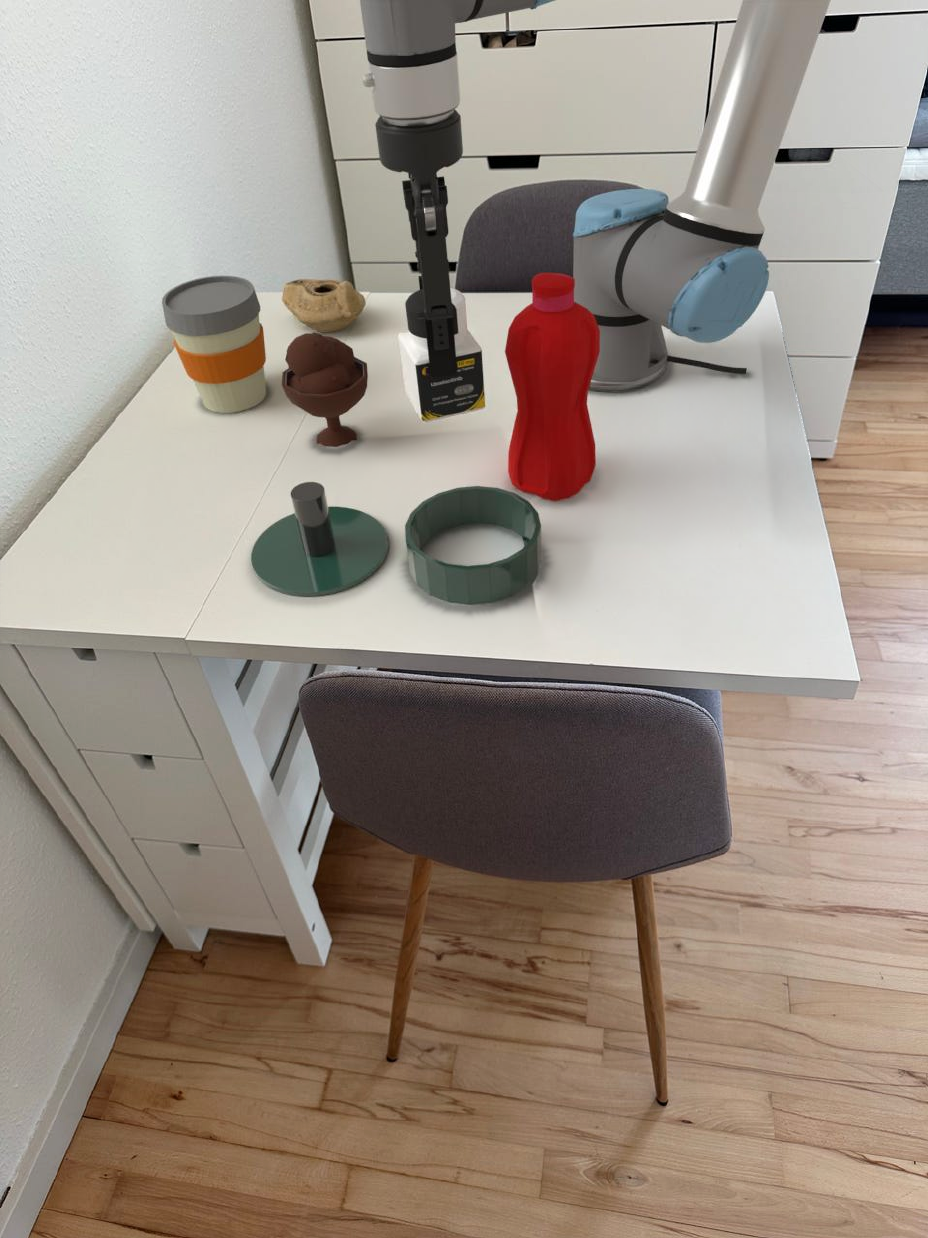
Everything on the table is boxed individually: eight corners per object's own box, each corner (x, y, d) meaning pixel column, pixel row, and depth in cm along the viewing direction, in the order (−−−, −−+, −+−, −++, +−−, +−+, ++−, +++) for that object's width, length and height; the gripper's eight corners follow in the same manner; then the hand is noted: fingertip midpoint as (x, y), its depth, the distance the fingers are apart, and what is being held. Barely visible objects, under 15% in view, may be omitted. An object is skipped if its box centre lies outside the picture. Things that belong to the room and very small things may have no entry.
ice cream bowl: (366, 464, 114) (348, 354, 104) (283, 459, 116) (257, 350, 106) (387, 420, 121) (373, 313, 111) (309, 416, 123) (288, 311, 113)
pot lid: (388, 509, 107) (378, 445, 101) (389, 593, 96) (379, 528, 90) (259, 520, 107) (243, 458, 101) (246, 607, 95) (226, 542, 89)
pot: (531, 519, 104) (531, 480, 100) (549, 601, 93) (549, 561, 90) (408, 530, 103) (403, 492, 100) (412, 614, 93) (406, 575, 89)
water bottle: (610, 465, 111) (623, 261, 93) (566, 512, 104) (570, 302, 87) (545, 445, 115) (545, 246, 97) (498, 489, 108) (490, 285, 91)
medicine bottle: (422, 424, 95) (409, 315, 87) (404, 392, 100) (391, 287, 92) (486, 409, 96) (479, 301, 88) (465, 379, 101) (457, 273, 93)
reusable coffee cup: (173, 413, 126) (140, 310, 116) (218, 371, 135) (192, 271, 124) (252, 424, 123) (226, 319, 112) (293, 380, 131) (272, 278, 121)
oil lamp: (301, 304, 150) (292, 256, 145) (381, 314, 145) (375, 265, 140) (266, 333, 143) (255, 283, 137) (350, 345, 138) (342, 294, 133)
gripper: (371, 86, 86) (400, 314, 102) (377, 154, 71) (410, 409, 87) (449, 78, 86) (466, 307, 102) (472, 144, 71) (487, 400, 87)
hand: (440, 353), depth 94 cm, fingers closed on medicine bottle, 8 cm apart
